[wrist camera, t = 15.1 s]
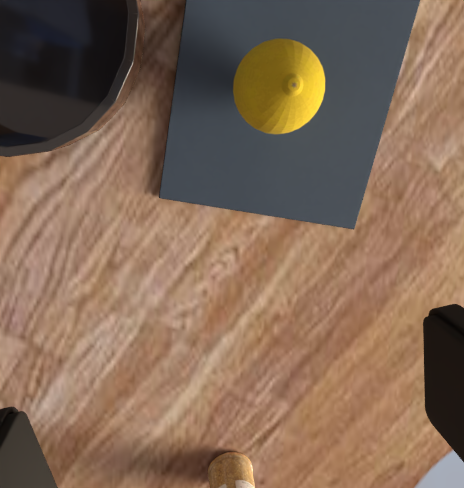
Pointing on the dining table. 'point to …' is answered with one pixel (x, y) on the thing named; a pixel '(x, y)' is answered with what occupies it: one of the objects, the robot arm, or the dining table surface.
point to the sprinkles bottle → (231, 471)
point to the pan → (64, 69)
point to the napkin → (300, 140)
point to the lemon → (279, 86)
